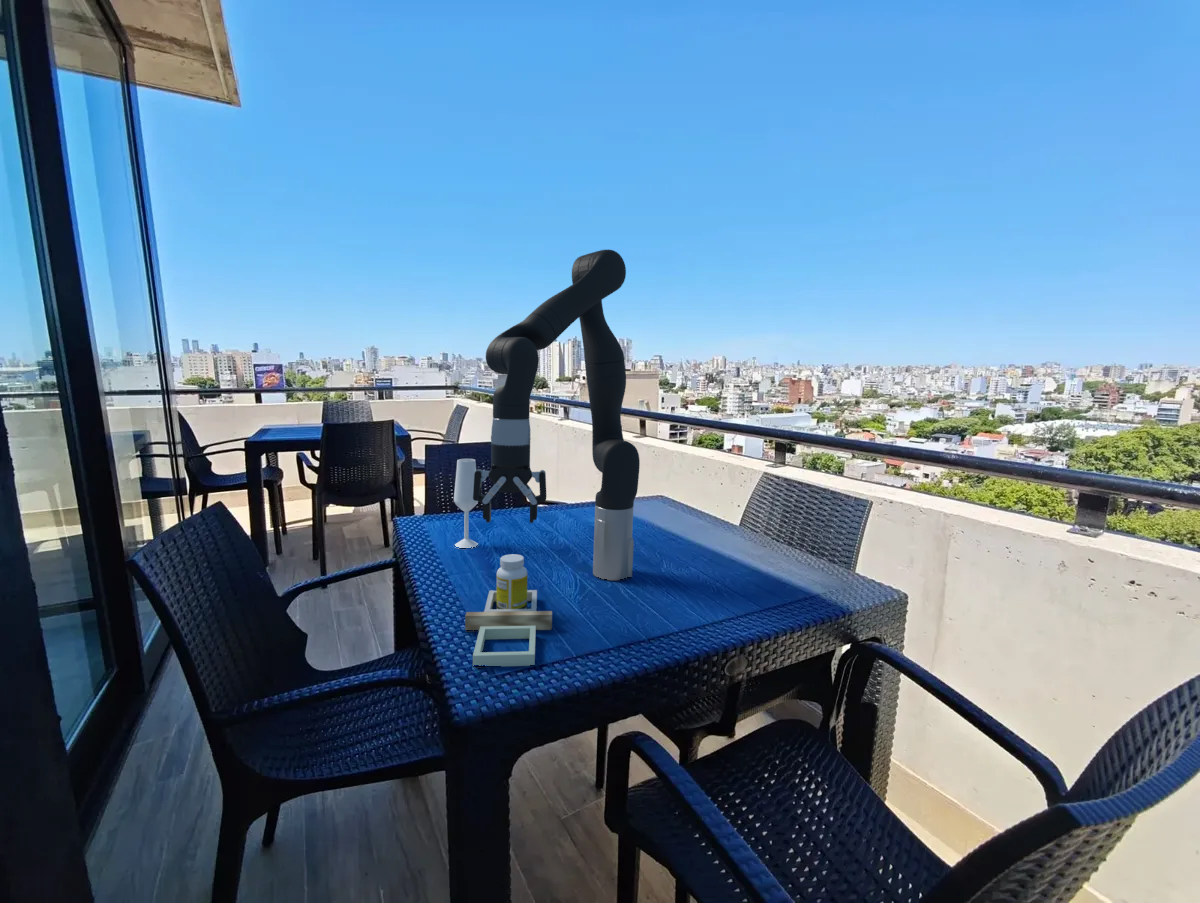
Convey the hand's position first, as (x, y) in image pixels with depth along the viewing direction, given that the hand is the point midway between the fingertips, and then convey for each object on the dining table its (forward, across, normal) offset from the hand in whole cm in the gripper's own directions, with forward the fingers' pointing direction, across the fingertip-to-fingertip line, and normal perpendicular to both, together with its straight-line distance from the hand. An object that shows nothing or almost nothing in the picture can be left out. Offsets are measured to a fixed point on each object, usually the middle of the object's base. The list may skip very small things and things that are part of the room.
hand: (510, 521), depth 104 cm
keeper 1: (+18, -1, +1) cm, 18 cm away
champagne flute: (+18, +16, -40) cm, 47 cm away
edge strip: (+18, -1, +9) cm, 20 cm away
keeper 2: (+18, -1, +17) cm, 25 cm away
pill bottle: (+19, -1, +1) cm, 19 cm away
